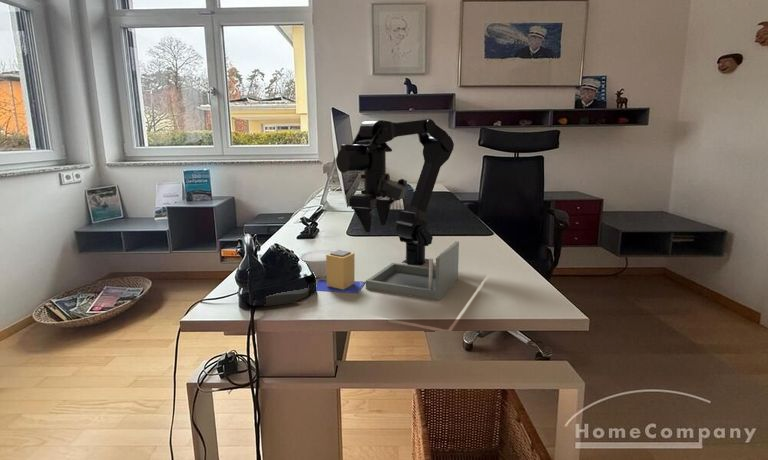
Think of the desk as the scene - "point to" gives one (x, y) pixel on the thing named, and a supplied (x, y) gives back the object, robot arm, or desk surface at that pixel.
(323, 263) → the ramekin
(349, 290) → the hard drive
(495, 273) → the desk surface
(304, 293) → the media streaming box
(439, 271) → the case
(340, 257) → the block
